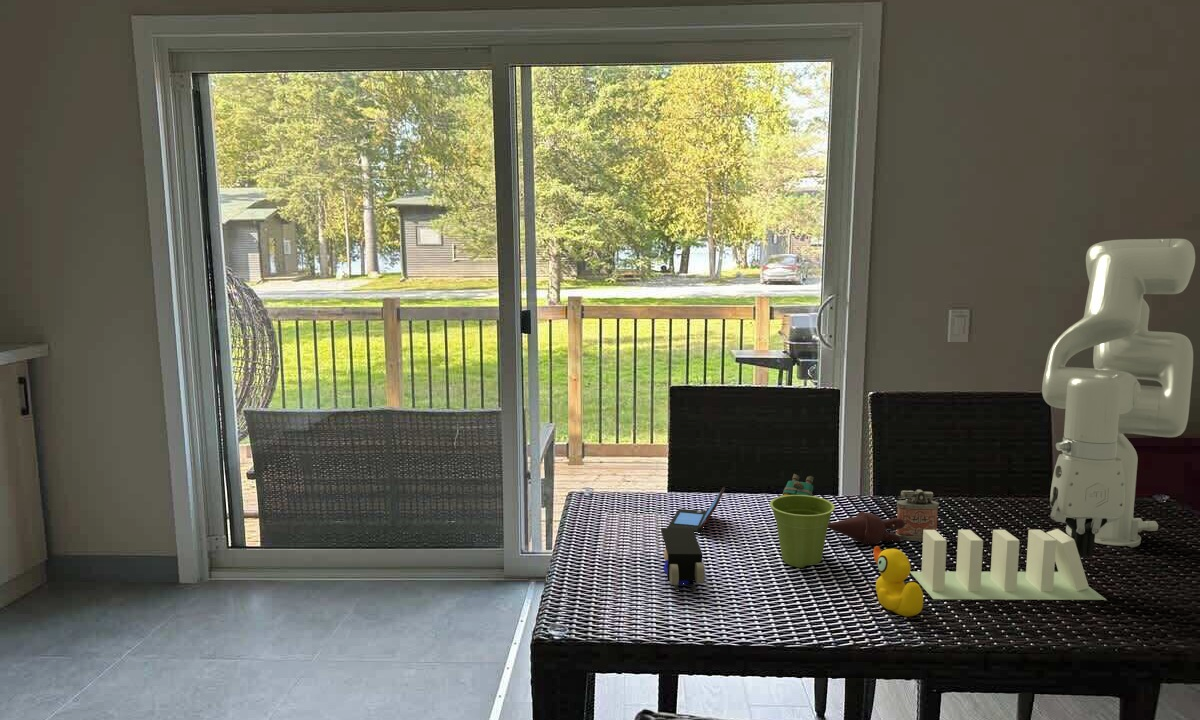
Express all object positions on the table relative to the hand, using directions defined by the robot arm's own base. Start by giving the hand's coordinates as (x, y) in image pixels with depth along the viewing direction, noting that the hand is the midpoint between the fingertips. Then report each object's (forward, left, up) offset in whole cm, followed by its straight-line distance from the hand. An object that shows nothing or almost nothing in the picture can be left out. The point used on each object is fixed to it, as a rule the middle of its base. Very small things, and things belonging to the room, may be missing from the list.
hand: (1081, 553), depth 128 cm
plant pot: (+45, -12, -7) cm, 47 cm away
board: (+13, 0, -7) cm, 14 cm away
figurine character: (+68, -4, -7) cm, 68 cm away
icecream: (+30, -20, -7) cm, 37 cm away
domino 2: (+19, 0, -6) cm, 20 cm away
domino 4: (+7, 0, -6) cm, 9 cm away
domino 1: (+25, 0, -6) cm, 25 cm away
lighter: (+19, -24, -7) cm, 31 cm away
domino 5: (+1, 0, -5) cm, 5 cm away
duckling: (+34, +8, -7) cm, 35 cm away
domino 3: (+13, 0, -6) cm, 14 cm away
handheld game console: (+63, -32, -7) cm, 71 cm away
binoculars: (+41, -34, -7) cm, 54 cm away
